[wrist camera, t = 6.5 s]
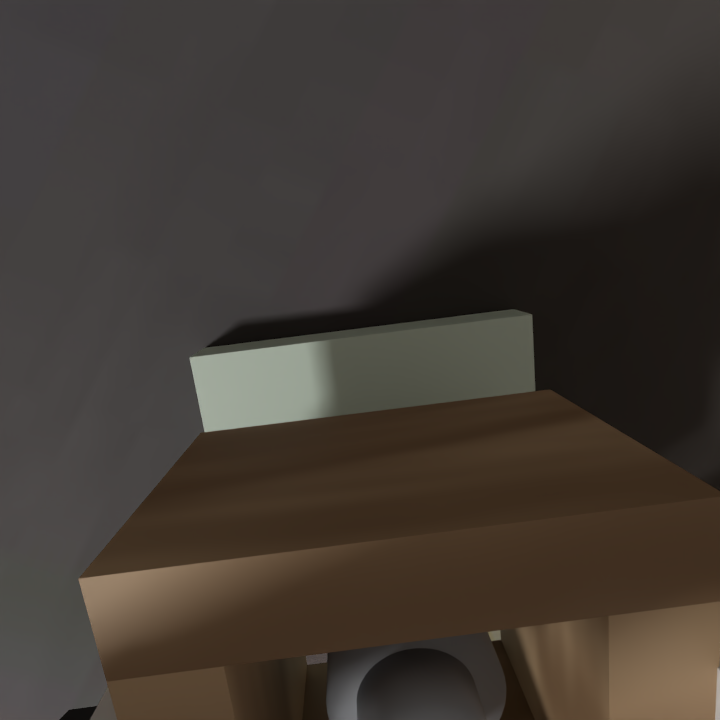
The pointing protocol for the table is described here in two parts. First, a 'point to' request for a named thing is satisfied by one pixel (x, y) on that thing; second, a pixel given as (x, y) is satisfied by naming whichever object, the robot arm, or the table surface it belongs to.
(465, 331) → the sage green base plate
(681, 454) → the table surface
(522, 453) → the collar
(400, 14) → the table surface
